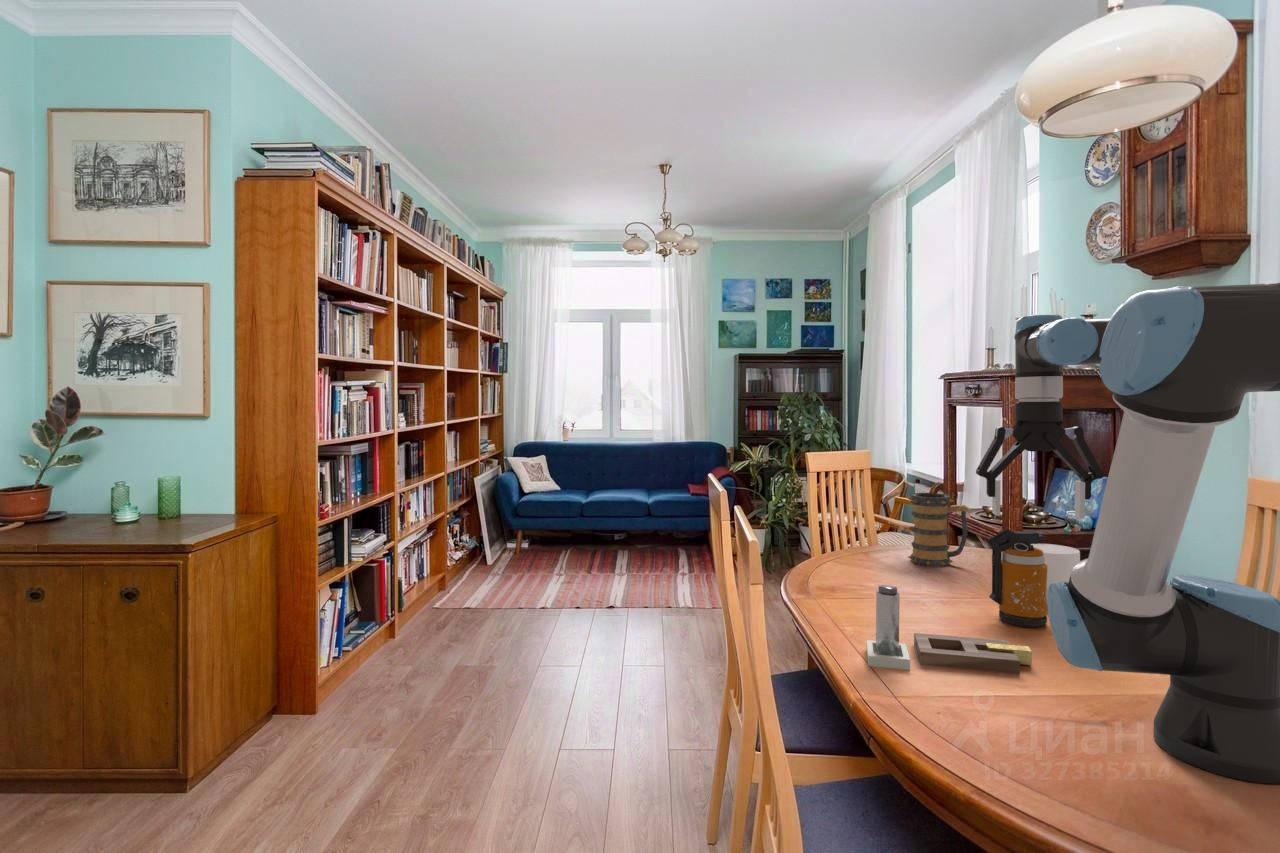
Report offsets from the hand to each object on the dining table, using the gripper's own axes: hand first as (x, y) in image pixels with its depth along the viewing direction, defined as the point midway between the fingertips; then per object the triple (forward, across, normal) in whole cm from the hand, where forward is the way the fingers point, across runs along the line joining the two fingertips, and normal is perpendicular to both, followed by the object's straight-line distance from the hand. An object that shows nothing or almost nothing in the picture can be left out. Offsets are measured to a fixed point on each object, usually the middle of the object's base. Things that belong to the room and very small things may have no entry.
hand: (1037, 516), depth 122 cm
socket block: (+27, +13, +5) cm, 30 cm away
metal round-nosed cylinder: (+26, +26, +9) cm, 38 cm away
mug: (+27, +7, -73) cm, 78 cm away
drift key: (+27, +6, +5) cm, 28 cm away
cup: (+27, -14, -43) cm, 53 cm away
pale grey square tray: (+27, +26, +9) cm, 39 cm away
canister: (+27, -2, -22) cm, 35 cm away
